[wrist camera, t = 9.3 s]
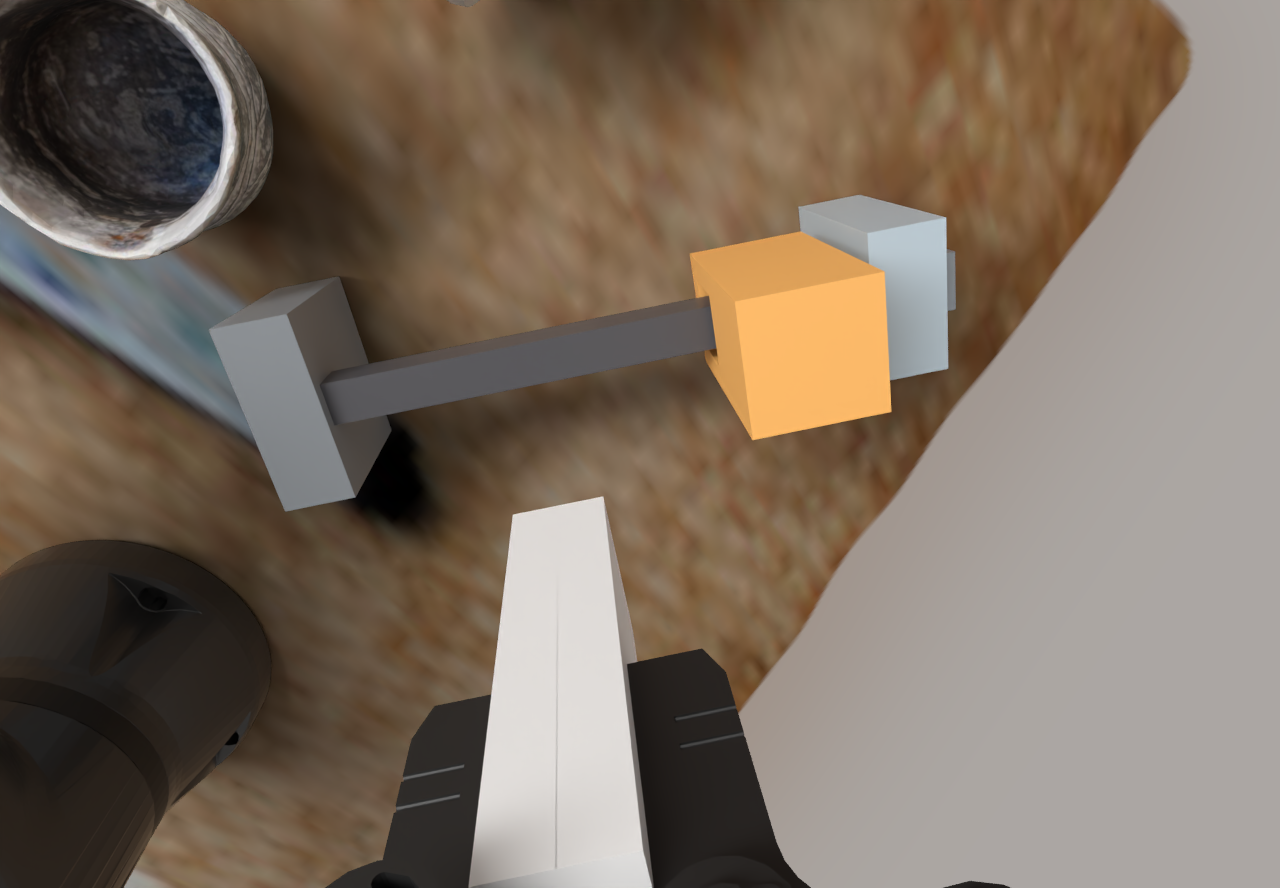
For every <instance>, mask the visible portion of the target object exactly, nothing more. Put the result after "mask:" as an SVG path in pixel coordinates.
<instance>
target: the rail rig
mask: <svg viewBox="0 0 1280 888" xmlns="http://www.w3.org/2000/svg"><path fill="white" fill-rule="evenodd" d="M799 218H800V229H801V232H803V233H805V234H807V235H809V236H811V237H814V238H816V239H818V240H820V241H822V242H824V243H826V244H828V245H830V246H832V247H834V248H837V249H839V250H841V251H843V252H845V253H847V254H849V255H851V256H853V257H855V258H857V259H860V260H862V261H864V262H866V263H868V264H870V265H872V266H874V267H876V268H878V269H880V270H883V271H885V289H886V310H887V331H888V352H889V373H890V380H895V379H900V378H905V377H909V376H914V375H919V374H924V373H929V372H934V371H939V370H944V369H948V319H947V311H950V310H955V309H956V297H955V251H952V250H949V249H947V248H946V217H942V216H939V215H935V214H931V213H927V212H923V211H920V210H916V209H912V208H908V207H904V206H900V205H897V204H893V203H889V202H885V201H881V200H877V199H874V198H870V197H866V196H862V195H856V196H851V197H846V198H841V199H836V200H831V201H826V202H821V203H816V204H811V205H806V206H801V207H799ZM209 332H210V334H211V337H212V339H213V342H214V344H215V346H216V349H217V351H218V353H219V356H220V358H221V361H222V363H223V365H224V368H225V370H226V372H227V375H228V377H229V379H230V382H231V384H232V387H233V389H234V391H235V394H236V396H237V398H238V401H239V403H240V406H241V408H242V410H243V413H244V415H245V417H246V420H247V422H248V424H249V427H250V429H251V432H252V434H253V436H254V439H255V441H256V443H257V446H258V448H259V451H260V453H261V455H262V458H263V460H264V462H265V465H266V467H267V469H268V472H269V474H270V477H271V479H272V481H273V484H274V486H275V488H276V491H277V493H278V496H279V498H280V500H281V503H282V505H283V507H284V510H285V512H286V511H291V510H296V509H301V508H305V507H310V506H315V505H320V504H325V503H330V502H335V501H340V500H345V499H350V498H355V497H356V495H357V494H358V492H359V490H360V488H361V486H362V484H363V482H364V481H365V479H366V477H367V475H368V473H369V471H370V469H371V468H372V466H373V464H374V462H375V460H376V458H377V457H378V455H379V453H380V451H381V449H382V447H383V445H384V444H385V442H386V440H387V438H388V436H389V434H390V432H391V431H392V430H391V427H390V424H389V421H388V418H387V415H388V414H393V413H398V412H403V411H408V410H413V409H418V408H423V407H428V406H433V405H438V404H443V403H448V402H453V401H458V400H463V399H468V398H473V397H478V396H483V395H488V394H492V393H497V392H502V391H507V390H512V389H517V388H522V387H527V386H532V385H537V384H542V383H547V382H552V381H557V380H562V379H567V378H572V377H577V376H582V375H587V374H592V373H596V372H601V371H606V370H611V369H616V368H621V367H626V366H631V365H636V364H641V363H646V362H651V361H656V360H661V359H666V358H671V357H676V356H681V355H686V354H691V353H696V352H700V351H705V350H710V349H715V348H716V341H715V334H714V327H713V320H712V313H711V306H710V299H709V296H704V297H699V298H694V299H689V300H684V301H679V302H674V303H669V304H664V305H659V306H654V307H649V308H644V309H639V310H634V311H629V312H624V313H619V314H614V315H609V316H604V317H599V318H595V319H590V320H585V321H580V322H575V323H570V324H565V325H560V326H555V327H550V328H545V329H540V330H535V331H530V332H525V333H520V334H515V335H510V336H505V337H500V338H495V339H490V340H485V341H480V342H475V343H470V344H465V345H460V346H455V347H450V348H445V349H440V350H435V351H430V352H425V353H420V354H415V355H410V356H405V357H400V358H395V359H390V360H385V361H380V362H375V363H370V364H369V363H368V360H367V357H366V354H365V351H364V348H363V345H362V342H361V339H360V336H359V333H358V330H357V327H356V324H355V321H354V318H353V315H352V313H351V310H350V307H349V304H348V301H347V298H346V295H345V292H344V289H343V286H342V283H341V280H340V277H339V276H338V277H333V278H328V279H323V280H318V281H313V282H308V283H303V284H298V285H293V286H288V287H283V288H278V289H275V290H273V291H272V292H270V293H268V294H267V295H265V296H263V297H262V298H260V299H258V300H257V301H255V302H254V303H252V304H250V305H249V306H247V307H245V308H244V309H242V310H240V311H239V312H237V313H235V314H234V315H232V316H230V317H229V318H227V319H225V320H224V321H222V322H220V323H219V324H217V325H215V326H214V327H212V328H210V329H209Z"/></svg>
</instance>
